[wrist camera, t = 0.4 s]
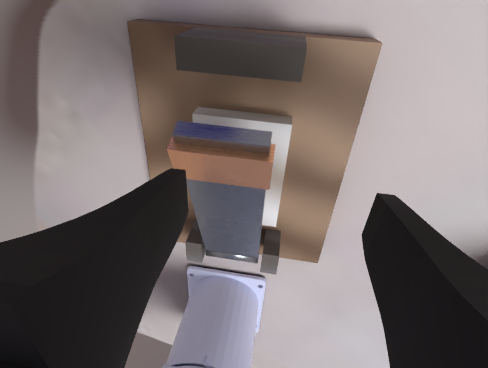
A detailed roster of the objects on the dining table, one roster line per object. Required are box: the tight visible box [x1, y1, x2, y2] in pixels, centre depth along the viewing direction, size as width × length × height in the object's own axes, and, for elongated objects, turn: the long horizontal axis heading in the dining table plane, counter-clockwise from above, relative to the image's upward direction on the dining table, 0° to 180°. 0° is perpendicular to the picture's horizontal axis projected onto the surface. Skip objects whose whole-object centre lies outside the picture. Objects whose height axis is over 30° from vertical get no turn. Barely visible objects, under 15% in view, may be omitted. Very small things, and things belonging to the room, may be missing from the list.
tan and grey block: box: [167, 121, 276, 263], centre depth 17 cm, size 14×4×1 cm, turn 178°
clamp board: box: [127, 19, 382, 274], centre depth 20 cm, size 17×14×5 cm
